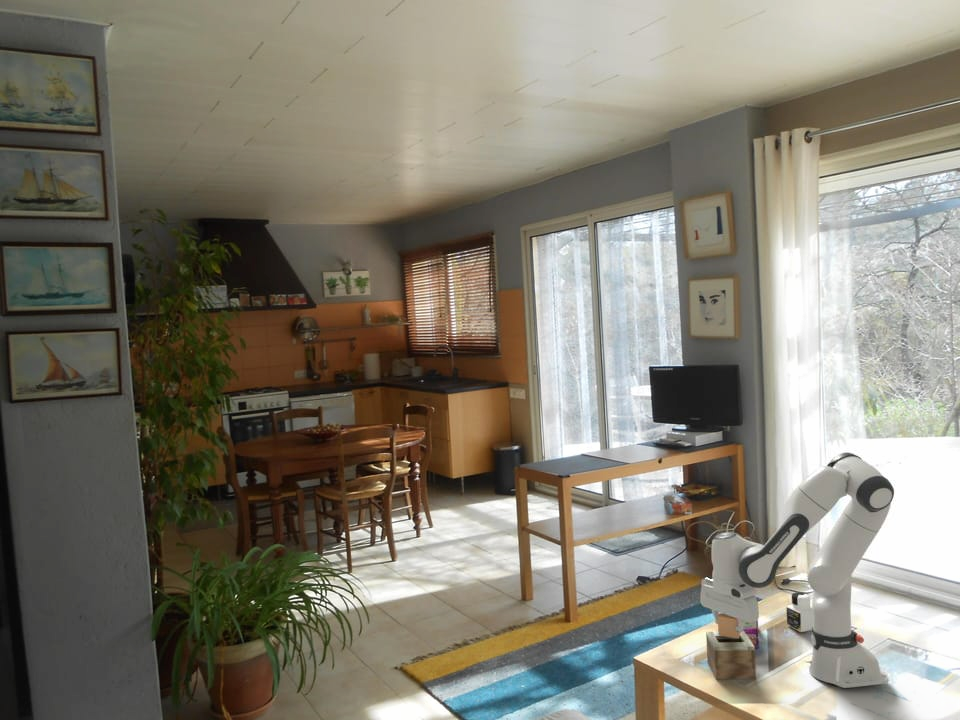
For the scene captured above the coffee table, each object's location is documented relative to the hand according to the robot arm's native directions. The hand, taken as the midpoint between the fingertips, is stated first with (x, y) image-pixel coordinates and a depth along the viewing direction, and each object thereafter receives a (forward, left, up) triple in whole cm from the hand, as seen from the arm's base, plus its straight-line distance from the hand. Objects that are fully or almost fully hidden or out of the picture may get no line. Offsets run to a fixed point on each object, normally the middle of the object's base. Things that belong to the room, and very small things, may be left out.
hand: (729, 627), depth 234 cm
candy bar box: (-8, -19, -14) cm, 25 cm away
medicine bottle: (-32, -33, -14) cm, 48 cm away
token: (0, 0, -2) cm, 2 cm away
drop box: (0, 0, -14) cm, 14 cm away
